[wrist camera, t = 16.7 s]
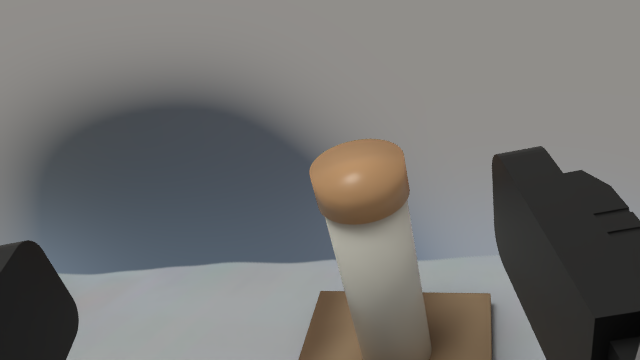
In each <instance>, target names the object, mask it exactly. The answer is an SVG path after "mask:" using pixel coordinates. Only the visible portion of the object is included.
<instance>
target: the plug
mask: <svg viewBox="0 0 640 360" xmlns="http://www.w3.org/2000/svg"><path fill="white" fill-rule="evenodd" d="M310 177H311V181H312V185H313V189H314V192H315V196H316V200H317V204H318V208H319V210H320V212H321V213H322V215H324V216H325V219H326V223H327V226H328V230H329V234H330V238H331V241H332V245H333V249H334V253H335V256H336V260H337V264H338V268H339V272H340V275H341V279H342V283H343V287H344V290H345V294H346V298H347V302H348V305H349V309H350V313H351V317H352V320H353V324H354V328H355V332H356V335H357V339H358V343H359V347H360V351H361V354H362V358H363V360H429V359H430V356H431V341H430V335H429V329H428V323H427V317H426V311H425V305H424V299H423V293H422V287H421V281H420V275H419V268H418V262H417V256H416V250H415V245H414V239H413V232H412V226H411V220H410V214H409V208H408V202H407V199H408V196H409V191H410V190H409V183H408V177H407V171H406V165H405V159H404V154H403V151H402V150H401V148H400V147H398V146H397V145H396V144H394V143H391V142H389V141H385V140H379V139H361V140H354V141H350V142H346V143H343V144H340V145H337V146H335V147H332V148H330V149H329V150H327V151H325V152H324V153H322V154H321V155H320V156H318V157H317V158H316V159H315V161H314V162H313V163H312V165H311V167H310Z"/></svg>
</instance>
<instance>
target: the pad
mask: <svg viewBox="0 0 640 360" xmlns="http://www.w3.org/2000/svg"><path fill="white" fill-rule="evenodd" d="M423 299H424V305H425V311H426V317H427V323H428V329H429V335H430V341H431V356H430V359H429V360H492V331H491V296H490V294H488V293H423ZM299 360H363V358H362V354H361V351H360V347H359V343H358V339H357V335H356V332H355V328H354V324H353V320H352V317H351V313H350V309H349V305H348V302H347V298H346V294H345V291H321V292H320V295H319V298H318V301H317V304H316V307H315V310H314V313H313V316H312V319H311V323H310V326H309V329H308V332H307V335H306V338H305V341H304V344H303V347H302V351H301V354H300V357H299Z"/></svg>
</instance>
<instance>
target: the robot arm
mask: <svg viewBox="0 0 640 360" xmlns="http://www.w3.org/2000/svg"><path fill="white" fill-rule="evenodd" d="M492 178H493V203H494V227H495V236H496V242H497V246H498V251H499V254H500V258H501V260H502V263H503V265H504V268H505V270H506V272H507V274H508V276H509V279H510V281H511V283H512V285H513V287H514V290H515V292H516V294H517V296H518V298H519V301H520V303H521V305H522V307H523V309H524V311H525V314H526V316H527V318H528V320H529V322H530V325H531V327H532V329H533V331H534V333H535V335H536V338H537V340H538V342H539V344H540V346H541V349H542V351H543V353H544V355H545V357H546V360H640V220H639V219H638V218H637V217H636V216H635V214H634V213H633V212H630V211H629V207H628V206H627V205H626V204H625V202H624V201H623V200H622V199H621V198H620V197H619V195H618V194H617V193H616V192H615V191H614V189H613V188H612V187H611V186H610V185H608V184H606V183H604V182H602V181H601V180H599V179H597V178H595V177H593V176H592V175H590V174H588V173H586V172H584V171H582V170H579V171H574V172H568V173H562V171H561V170H560V168H559V167H558V166H557V164H556V163H555V162H554V160H553V159H552V158H551V156H550V155H549V154H548V152H547V151H546V150H545V149H544V148H543V147H541V146H539V147H533V148H528V149H523V150H518V151H512V152H507V153H502V154H496V155H494V157H493V160H492ZM78 321H79V319H78V311H77V307H76V304H75V302H74V300H73V298H72V296H71V295H70V293H69V292H68V290H67V288H66V287H65V285H64V284H63V282H62V280H61V279H60V277H59V276H58V274H57V272H56V271H55V269H54V268H53V266H52V264H51V263H50V261H49V259H48V258H47V256H46V255H45V253H44V251H43V250H42V249H41V247H40V246H39V245H37V243H35V242H33V241H29V240H28V241H22V242H17V243H11V244H6V245H1V246H0V360H66V358H67V356H68V353H69V351H70V349H71V346H72V344H73V342H74V339H75V337H76V334H77V331H78Z"/></svg>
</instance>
